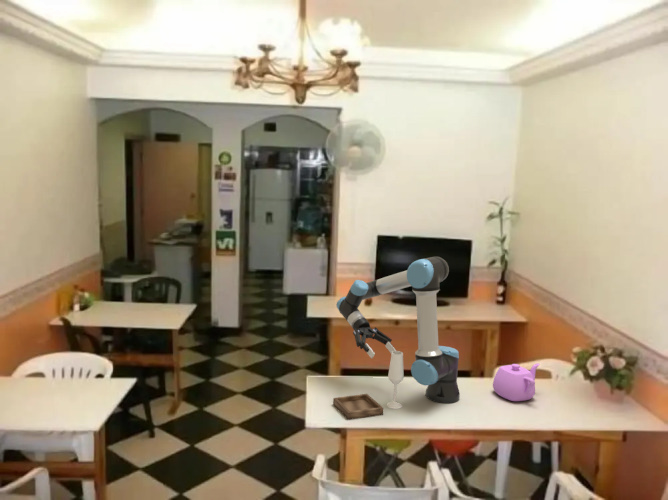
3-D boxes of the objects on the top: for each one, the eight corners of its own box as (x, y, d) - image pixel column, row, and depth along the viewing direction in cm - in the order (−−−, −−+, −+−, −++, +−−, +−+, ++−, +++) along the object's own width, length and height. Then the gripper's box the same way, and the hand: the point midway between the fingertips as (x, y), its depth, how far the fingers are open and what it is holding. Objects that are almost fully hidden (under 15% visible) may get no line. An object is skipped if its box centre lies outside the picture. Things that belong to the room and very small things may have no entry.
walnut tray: (366, 400, 271) (366, 393, 271) (383, 414, 257) (383, 408, 256) (333, 404, 265) (333, 397, 264) (348, 419, 250) (348, 413, 250)
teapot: (517, 409, 268) (520, 376, 266) (486, 391, 287) (489, 360, 285) (556, 402, 278) (559, 370, 275) (524, 385, 297) (527, 355, 294)
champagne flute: (385, 407, 264) (388, 354, 260) (387, 401, 270) (390, 349, 267) (401, 409, 263) (404, 355, 259) (402, 403, 269) (405, 350, 265)
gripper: (374, 327, 295) (400, 358, 281) (335, 330, 279) (360, 363, 265) (381, 316, 291) (407, 346, 278) (341, 317, 275) (367, 350, 262)
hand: (384, 354), depth 272 cm, fingers open, 13 cm apart
